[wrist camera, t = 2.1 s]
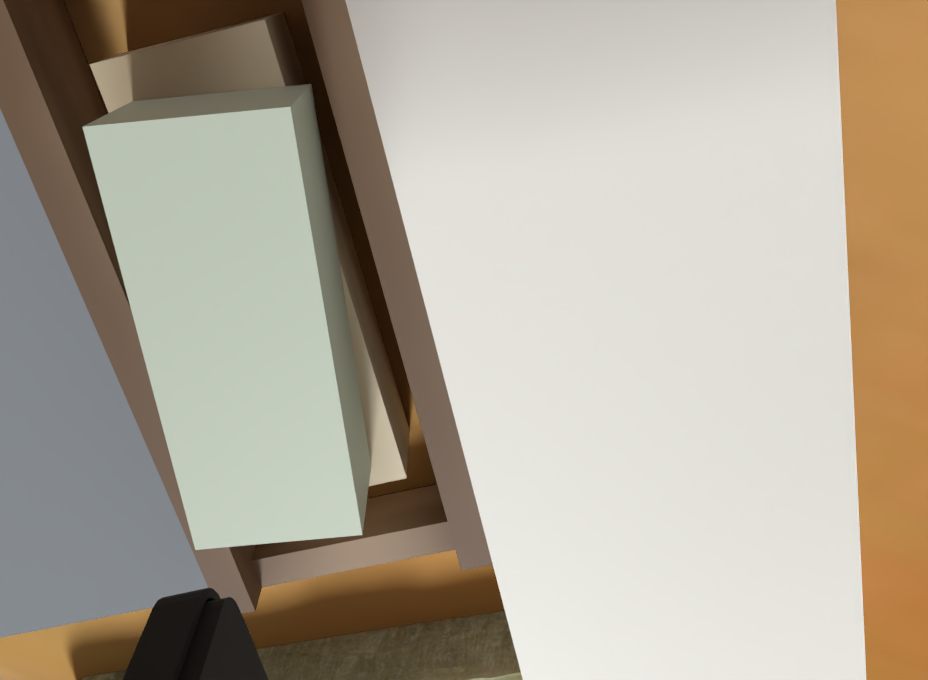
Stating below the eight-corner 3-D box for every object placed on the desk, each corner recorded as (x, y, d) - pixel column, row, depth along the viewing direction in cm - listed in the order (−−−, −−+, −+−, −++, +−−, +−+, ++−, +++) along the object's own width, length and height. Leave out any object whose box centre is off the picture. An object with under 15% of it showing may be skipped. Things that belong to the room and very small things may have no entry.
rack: (678, -236, 19) (717, -266, 17) (749, 450, 27) (784, 507, 24) (-5, -61, 20) (-74, -62, 18) (243, 551, 28) (221, 617, 25)
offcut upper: (311, 84, 19) (290, 106, 17) (371, 466, 24) (362, 535, 21) (132, 100, 19) (82, 126, 17) (223, 479, 24) (195, 550, 21)
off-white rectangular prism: (601, -113, 20) (826, -198, 8) (674, 405, 26) (871, 790, 14) (392, -61, 21) (326, -73, 9) (509, 439, 26) (565, 843, 14)
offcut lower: (286, 10, 22) (264, 19, 19) (409, 423, 26) (406, 477, 24) (133, 49, 22) (89, 64, 19) (283, 451, 27) (265, 508, 24)
